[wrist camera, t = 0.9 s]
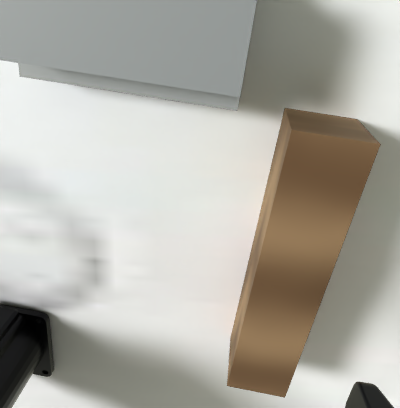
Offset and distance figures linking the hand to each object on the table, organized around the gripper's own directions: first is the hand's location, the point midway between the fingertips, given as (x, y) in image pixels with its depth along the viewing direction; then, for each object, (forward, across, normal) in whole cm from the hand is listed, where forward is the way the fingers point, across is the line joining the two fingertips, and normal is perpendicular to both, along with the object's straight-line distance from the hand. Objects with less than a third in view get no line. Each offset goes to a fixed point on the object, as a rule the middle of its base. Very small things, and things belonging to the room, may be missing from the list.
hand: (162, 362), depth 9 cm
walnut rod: (+13, -5, +4) cm, 14 cm away
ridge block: (+12, +4, -7) cm, 15 cm away
